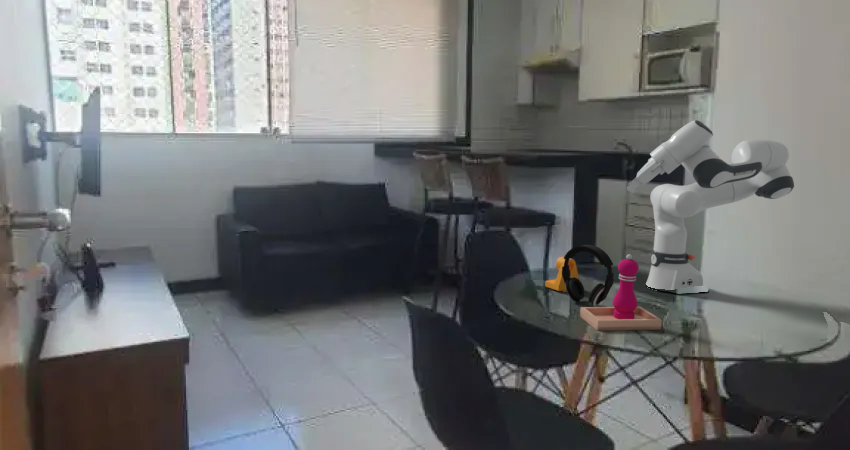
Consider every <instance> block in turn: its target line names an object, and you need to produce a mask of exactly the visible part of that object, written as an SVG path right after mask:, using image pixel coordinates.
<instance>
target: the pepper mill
mask: <svg viewBox="0 0 850 450" xmlns="http://www.w3.org/2000/svg"><path fill="white" fill-rule="evenodd" d="M625 257H626V258H625V259H622V260H620V261H619V263H618V264H617V269H618V272H619V274H618V279H619V287H618V290H617V292H616V293H615V295H614V296H613V300H612V307H615V310H614V311H613V316H614V317H615V318H617V319H634V316H635V313H634V312H633V311H634V310H635V309H636V308H637V307H638V300H637V297H636V293H635V291H634V283H635V282H636V281H637V276H636V275H637V273H638V272H639V271H640V269H639V264H638V262H637V261H636V260H634V259H633V255H632V254H630V253H629V254H627V255H626V256H625Z"/></svg>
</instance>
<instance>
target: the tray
mask: <svg viewBox="0 0 850 450" xmlns="http://www.w3.org/2000/svg"><path fill="white" fill-rule="evenodd" d="M614 310H615V307H614V306H595V307H593V306H589V307H588V306H581V307H580V310H579V317H580V318H581V319H583V320H584V321H585V322H586V323H587V324H588V325H590V326H592V328H593V329H595V330H596V331H649V330H650V331H651V330H653V331H656V330H657V331H658V330H662V322H663V320H662V319H661V318H659V317H658V316H656V315H655V314H654V313H652V312H650V311H649V310H646V309H645V308H644V307H642V306H637V308H636V309H635V310H634V311H633V312H634V313H635V316H634V319H617V318H615V317H614V316H613V311H614Z"/></svg>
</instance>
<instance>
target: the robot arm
mask: <svg viewBox="0 0 850 450" xmlns="http://www.w3.org/2000/svg"><path fill="white" fill-rule="evenodd" d="M713 136H714V133H713V131H712V130H711V129H710V128H709V127H708V126H707V125H705V124H704V123H703V122H702V121H700V120H696V119H694V120H692V121H690V122H688V123H686V124H684V125H682V127H681V128H679V129H678V130H676V131H675V132H674V133H673V134H672V135H671V137H670V138H669V139H667V141H664V142H662V143H661V144H660V145H659V146H657V147H655V149H654V150H652V151H651V152H650V153H649V155H650V156H651V157H650V158H648V160H647V162H646V163H645V164H644V165H643V166H642V167H641V168H640V170H638V171H637V173H636V177H634V179H632V180H631V182H629V183H628V184H627V187H626V190H627V192H630V193H631V192H632V191H633V190H635V189H637V188H638V187H639V186H640V185H642V186H646V184H648V183H649V182H650V181H652V180H653V179H654V178H655V177H656V176H658V175H659V174H660V175H661V176H662V175H663V174H664V173H665V174H666V173H667V175H669V174H671V173H672V172H673V171H675V169H677V168H678V167H679V166H681V165H682V167H683V168H684V169H685V170H686V171H687V173H689V175H690V176H692V178H693V179H694V180H695V182H692V183H691V184H686V185H677V184H671V183H663V184H660V185H657V186H656V187H654V188H653V189H652V190H651V192H650V195H649V196H650V198H649V199H650V203H651V205H652V208H653V219H654V238H653V239H654V240H653V241H654V242H653V249H651V250H652V251H651V257H650V268H649V269H650V270H649V273H648V277H647V280H646V283H645V284H646V285H647V286H648V287H651V288H655V289H665V290H675V289H680V288H687V287H694V286H702V285H703V286H704V279H703V275H702V273H701V272H700V271H698V270H697V269H696V268H695V267H694V266H693V265H692V264H691V263H690V262H689V261H694V260H695V255H693V254H691V253H690V254H688V253H687V252H686V248H687V246H686V245H687V240H688V239H687V238H688V231H687V228H686V226H685V221H684V218H690V217H693V216H696V215H697V214H699V213H701V212H703V211H705V210H707V209H711V208H715V207H719V206H723V205H728V204H733V203H735V202H739V201H742V200H745V199H747V198H750V197H751V196H754V195H755V196H757V197H761V198H764V199H769V200H774V199H775V200H776V199H779V198H782V197H785V196H786V195H787V196H788V195H789V194H790V193H791V192H792V191H793V189H794V188H795V181H794V178H793V176H791V174H790V171H789V169H788V166H787V165H786V163H787V162H788V160H789V155H790V154H789V150H788V148H787V146H786V145H785V144H784V143H781V142H778V141H775V140H770V139H761V138H760V139H758V138H755V139H746V140H743V141H740V142H739V143H738V144H737V145H735V147H734V148H733V150H732V154H731V157H730V159H731V161H730V162H731V163H727V162H726V161H724V160H723V159H722V158H720V156H719V155H717V153H716V152H715V151H713V150H712V149H711V145H710V142H711V141H710V140H711V139H712V138H713ZM648 287H647V288H648Z"/></svg>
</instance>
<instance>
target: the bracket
mask: <svg viewBox="0 0 850 450" xmlns="http://www.w3.org/2000/svg"><path fill="white" fill-rule="evenodd" d="M564 262H565V259H564V256H560V257H558V258H557V260H556V263H555V266H556V267H555V268H556V270H558V272H557V275H556V278H554V279H550V280H545V282H544V283H545V284H544V285H545V288H550V289H552V290H556V291H558V292H563V293H565V292H567V290H566V286H565V283H564V279H563V277H562V267H563V266H564ZM568 265H569V269H570V278H573V277H575V278H577V279H579V280H580V277H579V271H578V268H577V263H576V260H575V259H573V258H570V259H569V262H568Z"/></svg>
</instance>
